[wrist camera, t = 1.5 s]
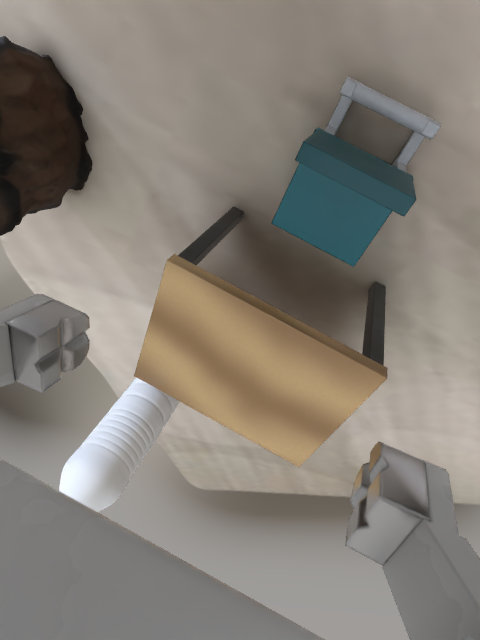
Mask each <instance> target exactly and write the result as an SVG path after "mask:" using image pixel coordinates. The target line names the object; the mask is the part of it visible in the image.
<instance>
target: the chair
mask: <svg viewBox="0 0 480 640" xmlns="http://www.w3.org/2000/svg"><path fill="white" fill-rule="evenodd" d="M340 94H341V95H342V97H341V99H340V101H339V103H338V105H337V107H336V109H335V111H334V113H333V115H332V117H331V119H330V121H329V123H328V125H327V127H326V128H325V129H324V130H322V129H320V128H317V129H316V130H315V131H314V133H313V134H312V135H311V136H310V137H309V138H307V139H306V140H305V141H304V142H303V144H302V146H301V148H300V150H299V152H298V155H297V157H296V159H295V160H296V161H298V162H300V163H299V165H298V167H297V169H296V172H295V174H294V176H293V178H292V180H291V182H290V184H289V187H288V189H287V191H286V193H285V195H284V197H283V199H282V201H281V204H280V206H279V208H278V210H277V212H276V214H275V216H274V219H273V221H272V224H273V225H275V226H277V227H279V228H281V229H283V230H285V231H287V232H289V233H290V234H292V235H294V236H296V237H298V238H300V239H302V240H304V241H306V242H308V243H309V244H311V245H313V246H315V247H317V248H319V249H321V250H323V251H325V252H327V253H328V254H330V255H332V256H334V257H336V258H338V259H340V260H342V261H344V262H346V263H347V264H349V265H351V266H355V264H356V263H357V261H358V260H359V258H360V257H361V256H362V254H363V253H364V251H365V250H366V248H367V247H368V245H369V244H370V242H371V241H372V240H373V238H374V237H375V235H376V234H377V232H378V231H379V229H380V228H381V226H382V225H383V224H384V222H385V221H386V219H387V218H388V216H389V215H390V213H391V212H392V211H394V212H396V213H398V214H400V215H402V216H405V215H406V213H407V212H408V210H409V209H410V208H411V206H412V205H413V203H414V202H415V201H416V195H415V190H414V185H413V176H412V175H410V174H408V173H407V171H406V165H407V163H408V162H409V160H410V159H411V157H412V156H413V154H414V153H415V151H416V150H417V148H418V147H419V145H420V144H421V142H422V141H423V139H424V138H425V137H426V138H428V139H433V138H434V136H435V135H436V133H437V132H438V130H439V129H440V127H441V123H439V122H437V121H436V120H434V119H432V118H430V117H428V116H425V115H423V114H421V113H419V112H417V111H415V110H413V109H411V108H409V107H407V106H405V105H403V104H401V103H399V102H397V101H395V100H393V99H391V98H389V97H387V96H385V95H383V94H381V93H379V92H377V91H375V90H373V89H371V88H369V87H367V86H365V85H363V84H361V83H360V82H359V81H357V80H355V79H353V78H350V77H347V78H346V80H345V82H344V84H343V86H342V88H341V90H340ZM352 101H355V102H357V103H359V104H361V105H363V106H365V107H367V108H369V109H371V110H373V111H375V112H377V113H379V114H381V115H383V116H385V117H387V118H389V119H391V120H393V121H395V122H397V123H399V124H401V125H403V126H404V127H406V128H408V129H410V130H412V131H413V133H412V135H411V136H410V138H409V139H408V141H407V143H406V144H405V146H404V147H403V149H402V150H401V152H400V154H399V155H398V157H397V158H396V160H395V162H394V163H393V165H390V164H388V163H386V162H384V161H383V160H381V159H379V158H377V157H375V156H373V155H371V154H369V153H367V152H365V151H363V150H361V149H359V148H357V147H355V146H353V145H351V144H349V143H347V142H345V141H344V140H342V139H340V138H338V137H336V136H335V134H336V132H337V130H338V128H339V126H340V125H341V123H342V121H343V119H344V117H345V115H346V113H347V111H348V109H349V107H350V105H351V103H352Z"/></svg>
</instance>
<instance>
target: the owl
mask: <svg viewBox="0 0 480 640" xmlns="http://www.w3.org/2000/svg"><path fill="white" fill-rule="evenodd" d="M82 111H83V108H82V106H81V104H80V103H79V102H78V100H77V98H76V96H75V93H74V91H73V89H72V87H70V86H69V85H68V84H67V83H66V82H65V80H64V79H63V78H62V76H61V75H60V73H59V72H58V70H57V69H56V67H55V65H54V64H53V62H52V59H51V58H50V57H49V56H48V55H42V56H40V55H38V54H37V53H35V52H32V51H30V50H28V49H26V48H24V47H21V46H19V45H16V44H14V43H12V42H11V41H10V40H9V39H8V38H7V37H5V36H3V37H0V236H1V235H3V234H5V233H7V232H10V231H12V230H13V229H14V227H15V226H16V225H19V224H20V222H21V220H22V218H23V217H24V216H25V215H26V214H32V213H36V212H38V211H40V210H45V209H51V208H56V207H58V206H60V204H61V203H62V197H63V196H64V195H65V193H66V192H67V191H68V190H69V189H74V190H81V189H82V188H83V186H84V182H86V181H87V178H88V175H89V173H90V171H91V170H92V168H91V166H92V160H91V158H90V156H89V154H88V153H87V150H86V147H85V142H86V141H87V140H88V136H87V133H86V132H85V130H84V128H83V125H82V120H81V117H80V115H81V114H82Z"/></svg>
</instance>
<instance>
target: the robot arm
mask: <svg viewBox="0 0 480 640" xmlns="http://www.w3.org/2000/svg"><path fill="white" fill-rule="evenodd" d="M89 328H90V325H89V317H88V316H87V315H86V314H85V313H83V312H81V311H79V310H77V309H74V308H72V307H70V306H68V305H66V304H64V303H62V302H59V301H56V300H54V299H52V298H50V297H48V296H46V295H44V294H35V295H33V296H31V297H28V298H26V299H24V300H22V301H19V302H17V303H15V304H13V305H10V306H8V307H6V308H4V309H1V310H0V387H2V386H5V385H8V384H12V383H15V381H16V382H19V383H21V384H23V385H25V386H27V387H29V388H31V389H34V390H36V391H38V392H40V393H42V392H44V391H45V390H46V389H48V388H49V387H51V386H52V385H53V384H55V383H56V382H58V381H59V380H60V379H61V376H62V372H66V371H70V370H74V369H75V368H76V367H78V366H79V365H80V364H81V363H82V362H83V360H84V359H85V357H86V356H87V353H88V350H89V339H88V337H87V335H86V333H85V331H86V330H88V329H89ZM351 504H352V506H353V508H354V511H353V513H352V514H351V516H350V517H349V519H348V528H347V536H346V544H345V546H347V547H349V548H351V549H353V550H355V551H356V552H359V553H360V554H362V555H364V556H366V557H368V558H370V559H372V560H373V561H375V562H377V563H379V564H381V565H383V571H384V573H385V576H386V579H387V581H388V584H389V586H390V589H391V592H392V594H393V597H394V599H395V602H396V605H397V607H398V610H399V612H400V615H401V618H402V620H403V623H404V625H405V628H406V631H407V633H408V636H409V638H410V640H480V558H479V557H478V555H477V554H476V553H475V551H474V550H473V548H472V547H471V545H470V544H469V542H468V541H467V540H466V539H465V538H463V537H461V536H459V534H458V528H457V522H456V516H455V511H454V504H453V498H452V492H451V486H450V480H449V474H448V472H447V471H446V469H444V468H441V467H439V466H437V465H434V464H432V463H429V462H427V461H424V460H421V459H419V458H416V457H414V456H412V455H409V454H407V453H405V452H402V451H400V450H398V449H395V448H393V447H391V446H388V445H386V444H384V443H381V442H378V443H377V444H376V445H375V446H374V448H373V449H372V451H371V454H370V462H369V463H366V464H363V465H362V467H361V469H360V471H359V472H358V475H357V477H356V480H355V482H354V485H353V490H352V495H351ZM0 640H325V639H323V638H321V637H319V636H317V635H316V634H314V633H312V632H310V631H309V630H307V629H305V628H303V627H301V626H300V625H298V624H296V623H294V622H293V621H291V620H289V619H287V618H285V617H283V616H282V615H280V614H278V613H276V612H275V611H273V610H271V609H269V608H268V607H266V606H264V605H262V604H260V603H258V602H257V601H255V600H253V599H251V598H250V597H248V596H246V595H244V594H243V593H241V592H239V591H237V590H235V589H234V588H232V587H230V586H228V585H227V584H225V583H223V582H221V581H219V580H218V579H216V578H214V577H212V576H210V575H208V574H206V573H205V572H203V571H202V570H200V569H198V568H196V567H194V566H193V565H191V564H189V563H187V562H185V561H183V560H182V559H180V558H178V557H177V556H175V555H173V554H171V553H169V552H168V551H166V550H164V549H162V548H160V547H158V546H157V545H155V544H153V543H152V542H150V541H148V540H146V539H144V538H142V537H141V536H139V535H137V534H135V533H134V532H132V531H130V530H128V529H127V528H124V527H123V526H121V525H119V524H117V523H116V522H114V521H112V520H110V519H109V518H107V517H105V516H103V515H102V514H100V513H98V512H96V511H94V510H93V509H91V508H89V507H87V506H85V505H84V504H82V503H80V502H78V501H76V500H75V499H73V498H71V497H69V496H68V495H66V494H64V493H62V492H60V491H59V490H57V489H55V488H53V487H51V486H49V485H48V484H46V483H44V482H42V481H41V480H39V479H37V478H35V477H34V476H32V475H30V474H28V473H26V472H25V471H23V470H21V469H19V468H17V467H15V466H14V465H12V464H10V463H9V462H7V461H5V460H3V459H1V458H0Z"/></svg>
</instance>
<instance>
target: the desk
mask: <svg viewBox="0 0 480 640" xmlns="http://www.w3.org/2000/svg"><path fill="white" fill-rule="evenodd" d="M242 215H243V211H241V210H239V209H237V208H235V207H233V208H232V209H230V210H229V211H228V212H227V213H226V214H225V215H224V216H222V217H221V218H220V219H219V220H218V221H217V222H216V223H214V224H213V225H212V226H211V227H210V228H209V229H208V230H206V231H205V232H204V233H203V234H202V235H201V236H200V237H199V238H197V239H196V240H195V241H194V242H193V243H192V244H191V245H189V246H188V247H187V248H186V249H185V250H184V251H183V252H181V253H180V254H179V255H178V256H177V255H176V254H174V255H173V256H171V257H170V258H169V259H168V260H167V262H166V266H165V269H164V273H163V276H162V280H161V283H160V287H159V290H158V294H157V297H156V301H155V304H154V308H153V311H152V315H151V318H150V322H149V325H148V329H147V332H146V336H145V339H144V343H143V346H142V350H141V353H140V357H139V360H138V364H137V367H136V371H135V374H134V376H135V377H137V378H138V379H140V380H142V381H144V382H146V383H148V384H149V385H151V386H153V387H155V388H157V389H158V390H160V391H162V392H164V393H166V394H167V395H169V396H171V397H173V398H175V399H176V400H178V401H180V402H182V403H184V404H186V405H187V406H189V407H191V408H193V409H195V410H196V411H198V412H200V413H202V414H204V415H205V416H207V417H209V418H211V419H213V420H214V421H216V422H218V423H220V424H222V425H224V426H225V427H227V428H229V429H231V430H233V431H234V432H236V433H238V434H240V435H242V436H243V437H245V438H247V439H249V440H251V441H252V442H254V443H256V444H258V445H260V446H262V447H263V448H265V449H267V450H269V451H271V452H272V453H274V454H276V455H278V456H280V457H281V458H283V459H285V460H287V461H289V462H290V463H292V464H294V465H296V466H298V467H300V466H301V465H302V464H303V463H304V462H305V461H306V460H307V459H308V458H309V456H310V455H311V454H312V453H313V452H314V451H315V450H316V449H317V448H318V447H319V446H320V445H321V444H322V443H323V442H324V441H325V440H326V439H327V438H328V437H329V436H330V435H331V434H332V433H333V432H334V431H335V430H336V429H337V428H338V427H339V426H340V425H341V424H342V423H343V422H344V421H345V420H346V419H347V418H348V417H349V416H350V415H351V414H352V413H353V412H354V411H355V410H356V409H357V408H358V407H359V406H360V405H361V404H362V403H363V402H364V401H365V400H366V399H367V398H368V397H369V396H370V395H371V394H372V393H373V392H374V391H375V390H376V389H377V388H378V387H379V386H380V385H381V384H382V383H383V382H384V381H385V380H386V379H387V367H385V366H383V365H384V329H385V294H386V287H385V286H383V285H381V284H379V283H377V282H375V283H374V284H373V285H372V286H371V288H370V289H369V294H368V303H367V313H366V323H365V332H364V342H363V352H362V354H360V353H359V352H357V351H355V350H353V349H351V348H349V347H347V346H345V345H344V344H342V343H340V342H338V341H336V340H334V339H332V338H331V337H329V336H327V335H325V334H323V333H321V332H319V331H317V330H316V329H314V328H312V327H310V326H308V325H306V324H304V323H303V322H301V321H299V320H297V319H295V318H293V317H291V316H289V315H288V314H286V313H284V312H282V311H280V310H278V309H276V308H275V307H273V306H271V305H269V304H267V303H265V302H263V301H261V300H260V299H258V298H256V297H254V296H252V295H250V294H248V293H247V292H245V291H243V290H241V289H239V288H237V287H235V286H233V285H232V284H230V283H228V282H226V281H224V280H222V279H220V278H219V277H217V276H215V275H213V274H211V273H209V272H207V271H205V270H204V269H202V268H200V267H198V266H196V265H197V264H198V263H199V262H200V261H201V260H202V259H203V258H204V257H205V256H206V255H207V254H208V253H209V252H210V251H211V250H212V249H213V248H214V247H215V246H216V245H217V244H218V243H219V242H220V241H221V240H222V239H223V238H224V237H225V236H226V235H227V234H228V233H229V232H230V231H231V230H232V229H233V228H234V227H235V226H236V225H237V224H238V223H239V222H240V220H241V217H242Z"/></svg>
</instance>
